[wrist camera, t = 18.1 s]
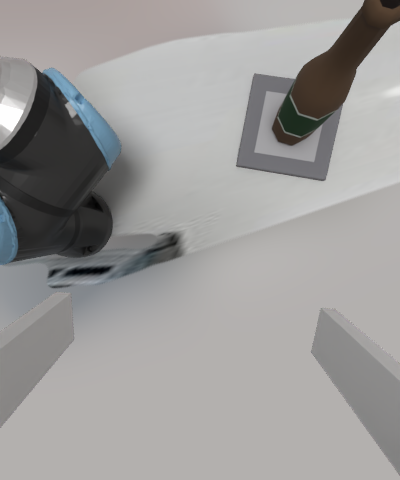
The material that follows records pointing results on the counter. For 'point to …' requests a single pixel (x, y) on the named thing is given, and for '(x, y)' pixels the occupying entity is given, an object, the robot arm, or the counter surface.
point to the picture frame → (266, 144)
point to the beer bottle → (332, 73)
